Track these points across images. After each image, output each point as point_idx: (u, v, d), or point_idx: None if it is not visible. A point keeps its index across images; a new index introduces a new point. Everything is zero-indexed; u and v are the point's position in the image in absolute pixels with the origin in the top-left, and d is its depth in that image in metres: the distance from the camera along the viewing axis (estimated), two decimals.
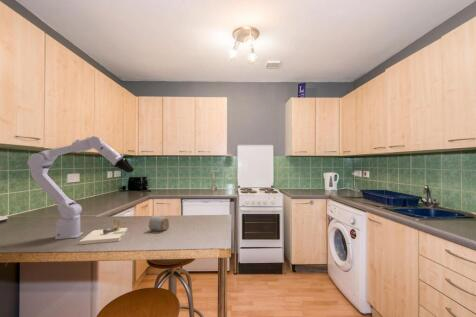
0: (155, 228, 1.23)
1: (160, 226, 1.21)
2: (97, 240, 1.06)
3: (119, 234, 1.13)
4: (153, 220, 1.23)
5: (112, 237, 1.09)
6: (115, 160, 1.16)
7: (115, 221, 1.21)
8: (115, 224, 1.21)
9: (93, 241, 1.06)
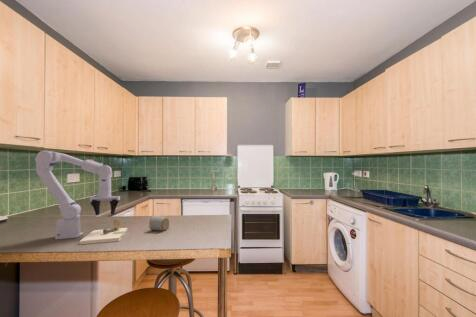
0: (155, 228, 1.23)
1: (160, 226, 1.22)
2: (97, 240, 1.06)
3: (119, 234, 1.13)
4: (153, 220, 1.23)
5: (112, 237, 1.09)
6: (119, 198, 1.23)
7: (115, 221, 1.21)
8: (115, 224, 1.21)
9: (93, 241, 1.06)
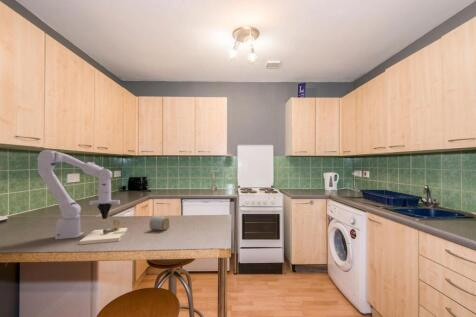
0: (156, 228, 1.23)
1: (161, 226, 1.22)
2: (97, 240, 1.06)
3: (119, 234, 1.13)
4: (154, 220, 1.24)
5: (112, 237, 1.09)
6: (119, 202, 1.23)
7: (115, 221, 1.21)
8: (115, 224, 1.21)
9: (93, 241, 1.06)
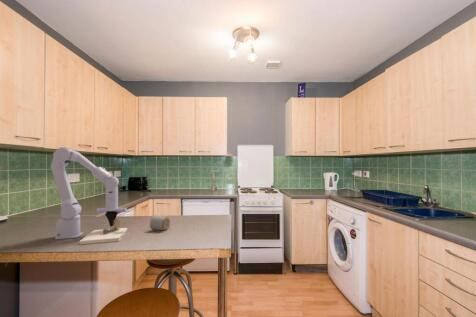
0: (156, 228, 1.23)
1: (161, 226, 1.22)
2: (97, 240, 1.06)
3: (119, 234, 1.13)
4: (154, 220, 1.24)
5: (112, 237, 1.09)
6: (126, 210, 1.23)
7: (115, 221, 1.21)
8: (115, 224, 1.21)
9: (93, 241, 1.06)
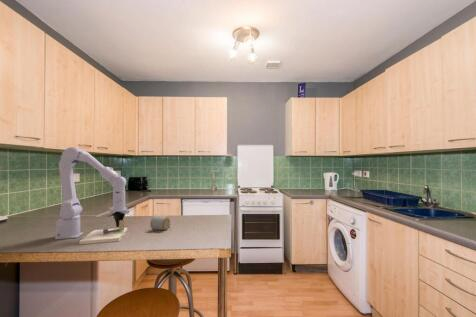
0: (156, 227, 1.24)
1: (161, 225, 1.23)
2: (97, 240, 1.06)
3: (119, 234, 1.13)
4: (154, 219, 1.24)
5: (112, 237, 1.09)
6: (127, 212, 1.17)
7: (119, 222, 1.19)
8: (119, 225, 1.19)
9: (93, 241, 1.06)
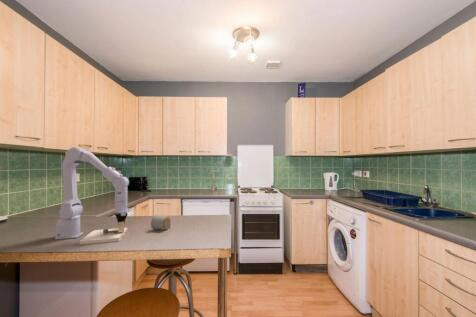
0: (157, 227, 1.24)
1: (162, 225, 1.23)
2: (97, 240, 1.06)
3: (119, 234, 1.13)
4: (155, 219, 1.25)
5: (112, 237, 1.09)
6: (123, 214, 1.13)
7: None
8: None
9: (93, 241, 1.06)
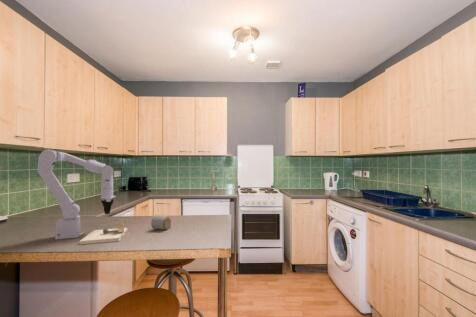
0: (157, 227, 1.25)
1: (162, 225, 1.23)
2: (97, 240, 1.06)
3: (119, 234, 1.13)
4: (155, 219, 1.25)
5: (112, 237, 1.09)
6: (108, 200, 1.19)
7: None
8: None
9: (93, 241, 1.06)
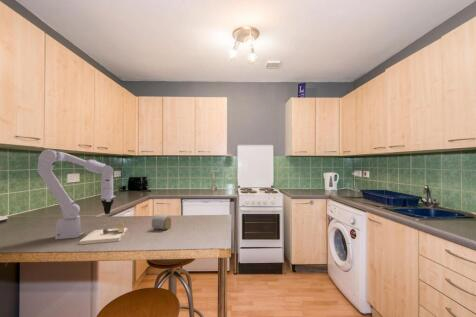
0: (158, 227, 1.25)
1: (163, 225, 1.24)
2: (97, 240, 1.06)
3: (119, 234, 1.13)
4: (156, 219, 1.25)
5: (112, 237, 1.09)
6: (108, 200, 1.19)
7: None
8: None
9: (93, 241, 1.06)
